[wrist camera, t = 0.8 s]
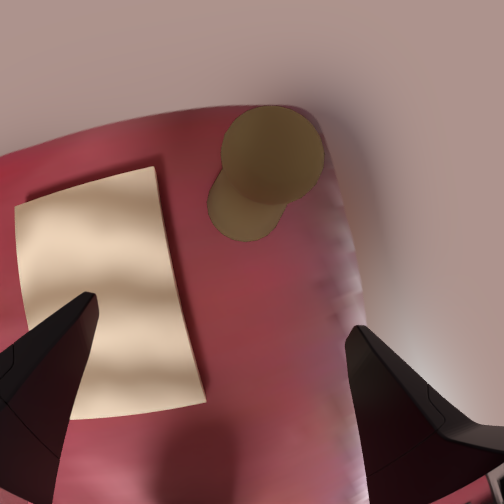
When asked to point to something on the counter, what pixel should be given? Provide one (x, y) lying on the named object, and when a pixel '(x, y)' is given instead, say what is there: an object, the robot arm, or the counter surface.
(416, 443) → the robot arm
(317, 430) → the counter surface
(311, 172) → the cork
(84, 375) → the birch board
